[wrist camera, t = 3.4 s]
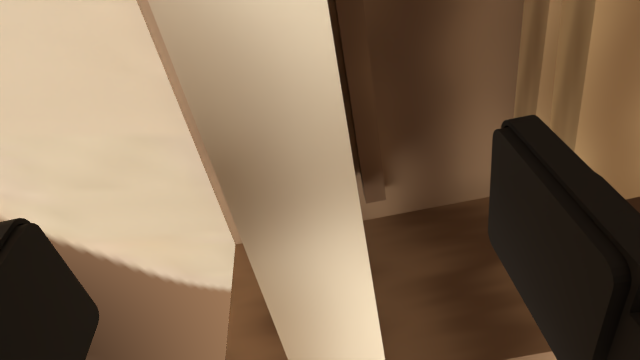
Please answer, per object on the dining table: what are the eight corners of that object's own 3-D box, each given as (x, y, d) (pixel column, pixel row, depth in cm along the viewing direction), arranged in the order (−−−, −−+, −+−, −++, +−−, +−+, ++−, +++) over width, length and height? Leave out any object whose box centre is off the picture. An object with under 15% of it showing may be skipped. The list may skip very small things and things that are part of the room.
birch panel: (268, -254, 13) (264, -389, 5) (345, 178, 23) (385, 360, 15) (168, -231, 14) (19, -329, 6) (286, 189, 23) (294, 376, 15)
